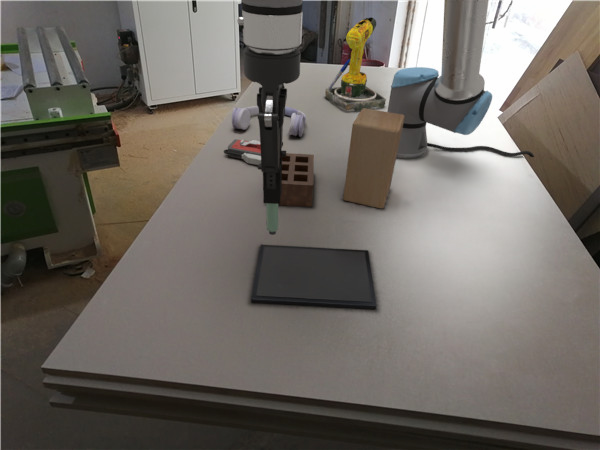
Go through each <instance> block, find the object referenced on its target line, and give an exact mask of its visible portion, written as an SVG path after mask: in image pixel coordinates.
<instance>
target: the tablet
mask: <svg viewBox="0 0 600 450" xmlns="http://www.w3.org/2000/svg"><path fill="white" fill-rule="evenodd" d="M370 260H371V259H370V254H369V250H367V249H352V248H351V249H350V248H348V249H347V248H334V247H333V248H331V247H312V246H294V245H275V244H260V247H259V252H258V259H257V262H256V263H257V264H256V270H255V275H254V280H253V287H252V292H251V297H250V298H251V299H250V303H252V304H253V303H254V304H271V305H290V306H291V305H292V306H308V307H325V308H326V307H327V308H341V309H342V308H345V309H362V310H363V309H365V310H377V300H376V299H377V298H376V293H375V287H374V279H373V274H372V273H373V272H372V267H371V261H370Z"/></svg>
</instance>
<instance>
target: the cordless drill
mask: <svg viewBox="0 0 600 450" xmlns="http://www.w3.org/2000/svg"><path fill="white" fill-rule="evenodd" d="M376 27H377V20H376V19H375V18H374V17H372V16H371V17H365V18H364V19H362V20H360V21H358V22H357V23H356V24H355V25H354V26H353V27H352V28H350V30H349V31H348V32H347V34H346V36H345V40H346V43H347V44H348V47H349V49H351V53H350V58H348V59H347V60H346V61H345V62H344V64H343V65H342V67H341V68H340V70H339V71H338V73H337V74H336V75H335V76H334V78H333V79H332V80H331V82H330V84H329V86H328V87H327V88H325V90H324V92H325V94H324V95H325V97H324V98H325V99H328V100H330V101H333V102H335V103H336V104H337V105H338V106H339V107H341V109H343V110H344V111H352V110H354V111H361V110H362V109H363V108H365V109H372V108H385V105H386V101H387V99H386V98H385V97H384V96H383V95H382V94H380V93H378V92H377V91H375V90H373V89H371V88H370V87H368V86H367V82H368V80H367V74H366V73H365V72H363V71H361V69H362V68H361V67H362V62H363V55H364V53H365V52H364V48H365V45H366V42H367V41H368V39H369V38H370V37H371V36H372V35H373V33H374V31H375V29H376ZM347 68H348V72H347V73H345V74H343V73H344V72H345V71H346V70H347ZM341 76H342V77H341ZM340 77H341V80H340V86H337V87H335V84H336V83H337V81H338V80H339V79H340ZM341 94H342V95H341ZM362 95H365V96H368V97H367V98H360V97H361V96H362Z"/></svg>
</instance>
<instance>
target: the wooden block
mask: <svg viewBox="0 0 600 450" xmlns="http://www.w3.org/2000/svg"><path fill="white" fill-rule="evenodd" d="M359 111H360V112H359V113H358V115H357V116H356V118H355V119H354V121H353V123H352V127H351V132H350V133H351V134H350V143H349V149H348V157H347V167H346V172H345V173H346V174H345V181H344V189H343V197H342V198H343V200H344V201H345V202H349V203H355V204H359V205H364V206H367V207H372V208H377V209H385V205H386V202H387V199H388V196H389V192H390V190H391V185H392V180H393V176H394V170H395V165H396V161H397V158H396V157H397V152H398V147H399V142H400V137H401V132H402V128H403V123H404V118H405V116H404V115H402V114H396V113H390V112H387V111H383V110H377V109H372V108H369V109H365V108H363V109H362V110H359Z"/></svg>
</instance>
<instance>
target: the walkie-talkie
mask: <svg viewBox="0 0 600 450" xmlns="http://www.w3.org/2000/svg"><path fill="white" fill-rule="evenodd" d="M223 154H224V155H227V156H228V157H230V158H234V159H239V160H243V161H244V162H245V163H247V164H250V165H255V166H258V165H259V164H261V147H260V140H256V139H252V140H250V141H249V140H245V139H244V138H243V139H233V140H232V141H231V142H230V143H229V144H228V145H227V149H224V150H223Z"/></svg>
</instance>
